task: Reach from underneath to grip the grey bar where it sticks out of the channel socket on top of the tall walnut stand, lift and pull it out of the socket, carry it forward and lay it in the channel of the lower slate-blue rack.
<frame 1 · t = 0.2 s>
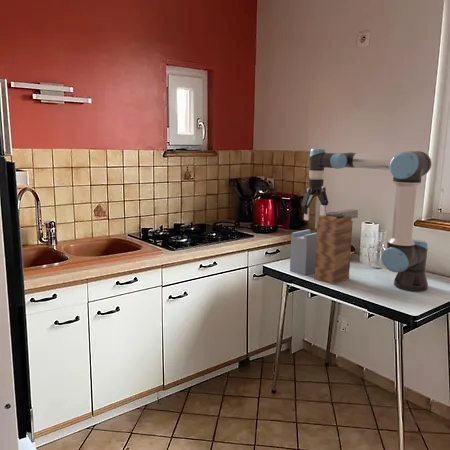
hand: (314, 218, 242), 28 cm above the table, tool pointing down, fingers open, 13 cm apart
grey bar: (342, 219, 230), point 30 cm above the table, touching stand
stand: (331, 279, 231), on the table
rack: (305, 270, 245), on the table
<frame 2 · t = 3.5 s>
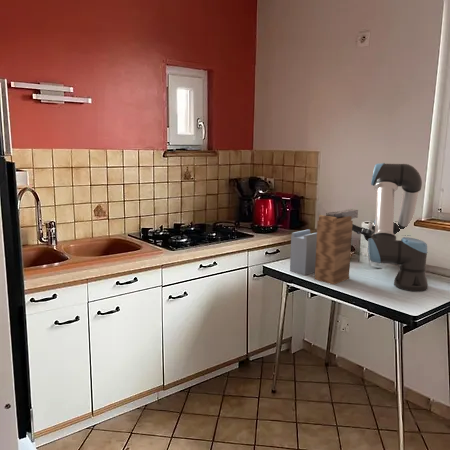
hand: (356, 222, 240), 27 cm above the table, tool pointing upward, fingers open, 13 cm apart
nothing on the table moved.
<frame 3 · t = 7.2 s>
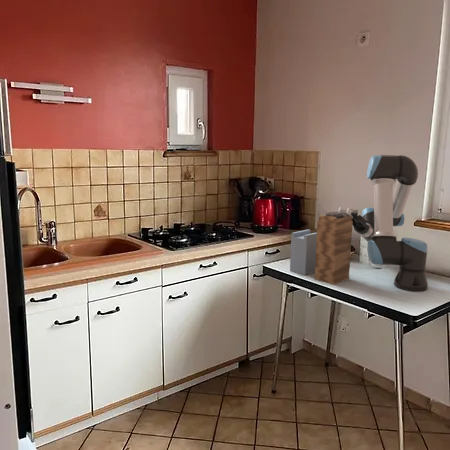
hand: (343, 210, 229), 35 cm above the table, tool pointing upward, fingers closed on grey bar, 4 cm apart
grey bar: (342, 219, 230), point 30 cm above the table, touching gripper, stand
everything else where it was.
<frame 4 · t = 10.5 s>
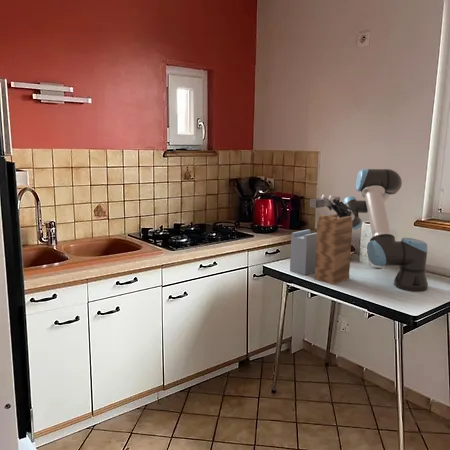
hand: (326, 197, 249), 39 cm above the table, tool pointing upward, fingers closed on grey bar, 4 cm apart
grey bar: (325, 205, 249), point 34 cm above the table, touching gripper
everything else where it was.
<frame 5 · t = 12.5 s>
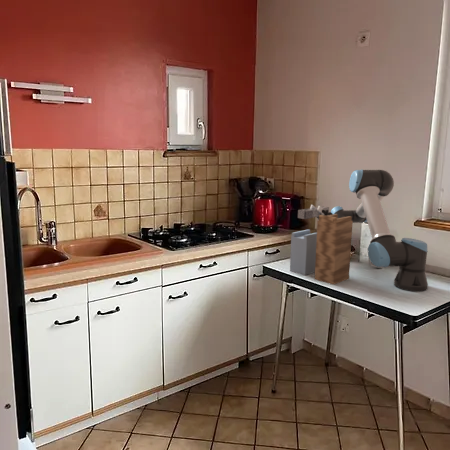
hand: (314, 207, 243), 34 cm above the table, tool pointing upward, fingers closed on grey bar, 4 cm apart
grey bar: (313, 216, 244), point 29 cm above the table, touching gripper
everything else where it was.
when the fingers open (25 cm above the table, at t = 14.2 s): grey bar drops 1 cm, resting on rack.
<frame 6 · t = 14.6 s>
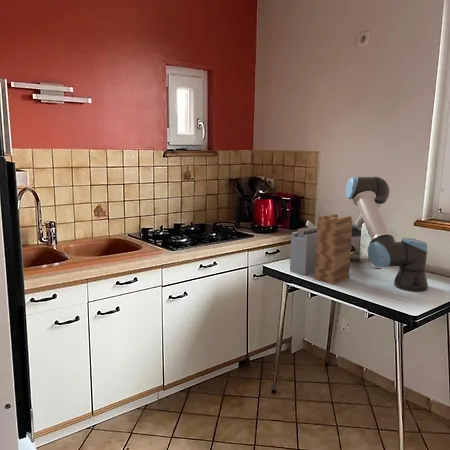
hand: (315, 224, 245), 25 cm above the table, tool pointing upward, fingers open, 10 cm apart
grey bar: (313, 234, 245), point 19 cm above the table, touching rack
everything else where it was.
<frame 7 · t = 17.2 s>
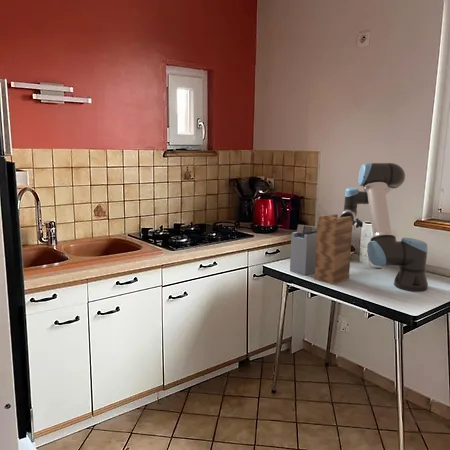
hand: (341, 226, 246), 23 cm above the table, tool horizontal, fingers open, 13 cm apart
grey bar: (313, 234, 245), point 19 cm above the table, tilted 11°, touching rack
everything else where it was.
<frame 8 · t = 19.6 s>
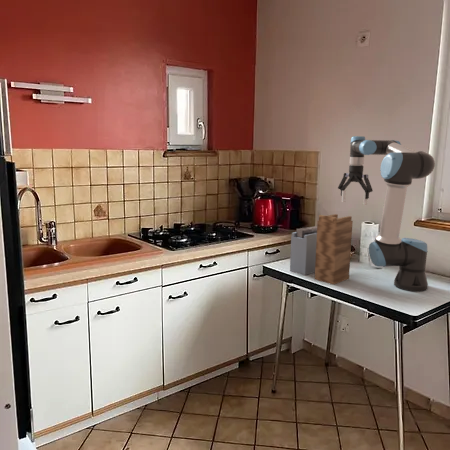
hand: (353, 203, 254), 35 cm above the table, tool pointing down, fingers open, 13 cm apart
grey bar: (313, 234, 245), point 19 cm above the table, touching rack
everything else where it was.
at the end: grey bar inside the target area on the rack (1.4 cm from its centre), point 19.0 cm above the rack's base; the gripper is holding nothing; grey bar touching rack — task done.
